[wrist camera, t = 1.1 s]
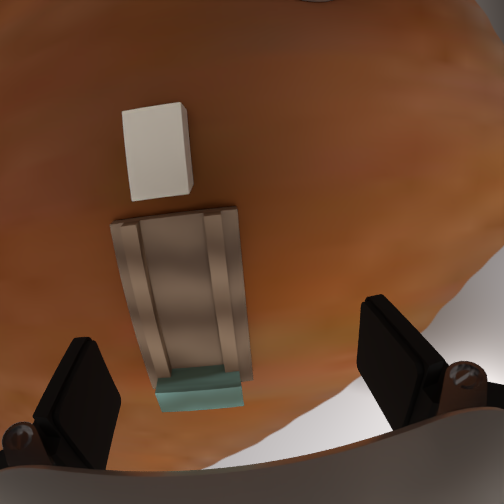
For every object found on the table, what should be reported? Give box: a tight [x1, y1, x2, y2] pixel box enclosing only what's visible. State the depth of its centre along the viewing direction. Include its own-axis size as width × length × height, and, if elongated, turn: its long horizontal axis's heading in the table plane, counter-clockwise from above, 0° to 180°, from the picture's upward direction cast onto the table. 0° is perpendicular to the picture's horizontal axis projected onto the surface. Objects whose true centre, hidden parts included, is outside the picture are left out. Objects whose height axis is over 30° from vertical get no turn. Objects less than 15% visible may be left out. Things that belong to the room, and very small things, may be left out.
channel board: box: [110, 206, 253, 412], centre depth 31 cm, size 20×12×6 cm, turn 4°
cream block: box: [122, 102, 194, 201], centre depth 25 cm, size 7×4×6 cm, turn 4°
